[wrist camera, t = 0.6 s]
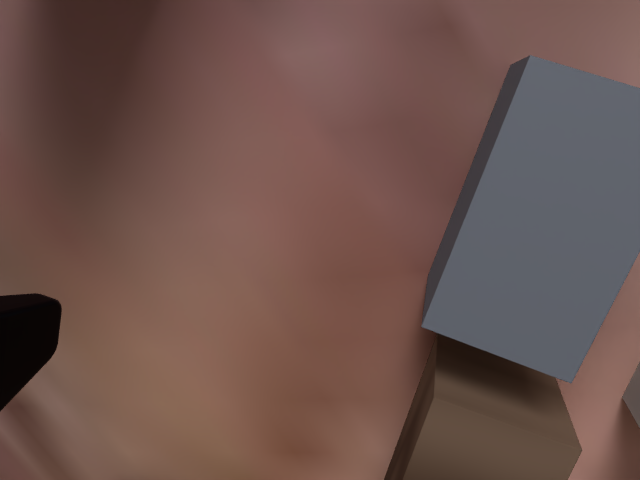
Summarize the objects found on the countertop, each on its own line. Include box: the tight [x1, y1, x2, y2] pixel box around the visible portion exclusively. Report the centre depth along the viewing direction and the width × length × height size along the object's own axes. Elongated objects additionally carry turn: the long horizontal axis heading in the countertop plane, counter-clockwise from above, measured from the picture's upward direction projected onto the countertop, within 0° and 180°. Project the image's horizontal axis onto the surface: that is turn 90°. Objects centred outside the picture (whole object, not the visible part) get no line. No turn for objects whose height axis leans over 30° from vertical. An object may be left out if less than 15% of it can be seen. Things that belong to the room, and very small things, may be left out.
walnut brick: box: [384, 333, 582, 480], centre depth 20 cm, size 8×4×5 cm, turn 164°
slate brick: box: [421, 55, 640, 383], centre depth 17 cm, size 8×4×5 cm, turn 162°
